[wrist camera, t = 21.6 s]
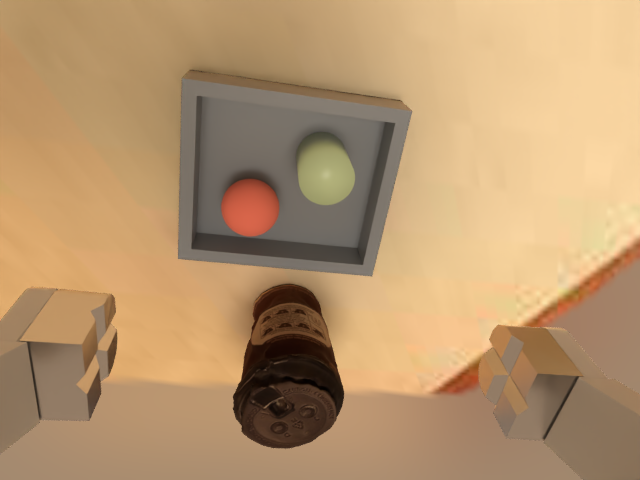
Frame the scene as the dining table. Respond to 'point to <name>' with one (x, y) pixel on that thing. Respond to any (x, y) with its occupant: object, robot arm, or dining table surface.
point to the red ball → (250, 207)
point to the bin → (284, 171)
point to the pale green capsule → (324, 169)
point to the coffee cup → (288, 372)
